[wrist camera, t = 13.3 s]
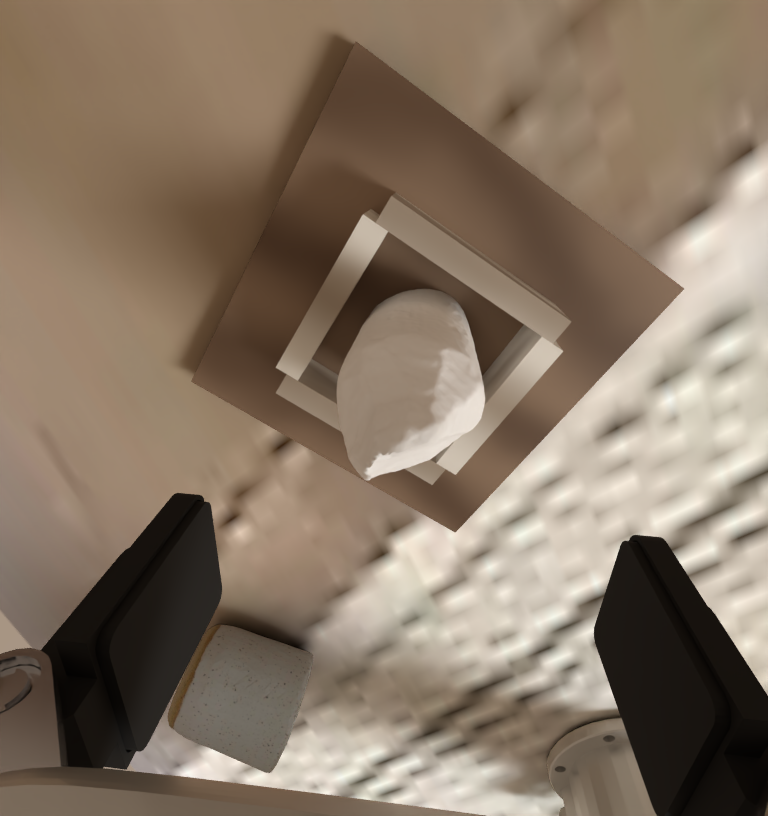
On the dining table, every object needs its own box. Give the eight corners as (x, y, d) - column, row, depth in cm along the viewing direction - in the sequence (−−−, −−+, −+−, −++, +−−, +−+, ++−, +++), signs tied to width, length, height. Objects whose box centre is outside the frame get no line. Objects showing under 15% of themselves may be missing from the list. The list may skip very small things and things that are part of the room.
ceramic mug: (217, 597, 36) (167, 700, 29) (321, 632, 37) (296, 740, 30) (192, 678, 41) (144, 782, 34) (285, 707, 41) (256, 815, 35)
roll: (407, 575, 16) (266, 479, 15) (416, 412, 27) (335, 348, 25) (546, 461, 14) (393, 334, 12) (495, 332, 24) (410, 257, 23)
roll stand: (454, 521, 31) (457, 568, 27) (198, 374, 28) (165, 404, 24) (674, 284, 24) (718, 304, 20) (359, 46, 20) (343, 20, 17)
